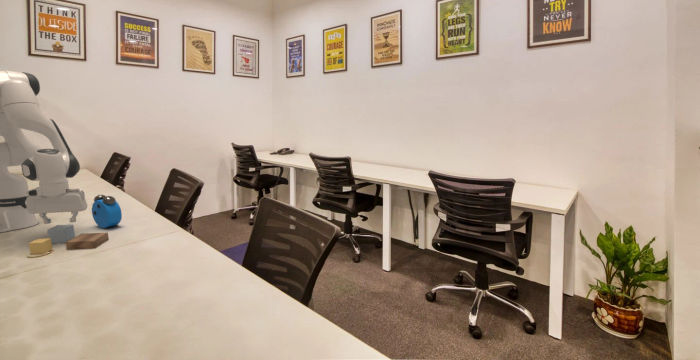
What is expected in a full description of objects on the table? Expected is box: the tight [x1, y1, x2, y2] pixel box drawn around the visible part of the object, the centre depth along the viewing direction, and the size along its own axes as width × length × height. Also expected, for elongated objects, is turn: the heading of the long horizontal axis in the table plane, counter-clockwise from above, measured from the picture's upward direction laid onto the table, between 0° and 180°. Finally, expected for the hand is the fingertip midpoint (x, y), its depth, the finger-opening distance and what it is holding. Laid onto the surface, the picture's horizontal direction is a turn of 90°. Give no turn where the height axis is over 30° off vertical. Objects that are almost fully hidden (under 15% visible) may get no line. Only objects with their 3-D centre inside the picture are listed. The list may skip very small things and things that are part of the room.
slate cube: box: [46, 224, 76, 244], centre depth 142 cm, size 6×6×6 cm
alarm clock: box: [91, 194, 123, 229], centre depth 159 cm, size 13×6×15 cm, turn 65°
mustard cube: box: [28, 237, 53, 255], centre depth 131 cm, size 4×4×4 cm
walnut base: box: [65, 232, 109, 251], centre depth 139 cm, size 10×10×3 cm
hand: (60, 222), depth 141 cm, fingers open, 8 cm apart
